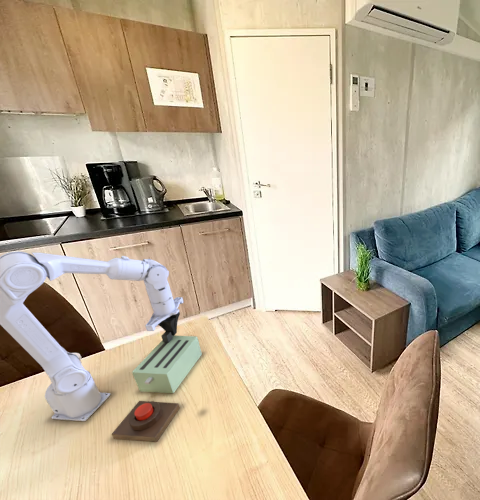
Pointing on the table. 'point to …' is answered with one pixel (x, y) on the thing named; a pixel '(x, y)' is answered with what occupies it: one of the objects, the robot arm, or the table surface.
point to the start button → (143, 411)
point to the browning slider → (167, 337)
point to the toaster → (167, 365)
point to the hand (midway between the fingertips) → (172, 334)
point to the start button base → (147, 422)
